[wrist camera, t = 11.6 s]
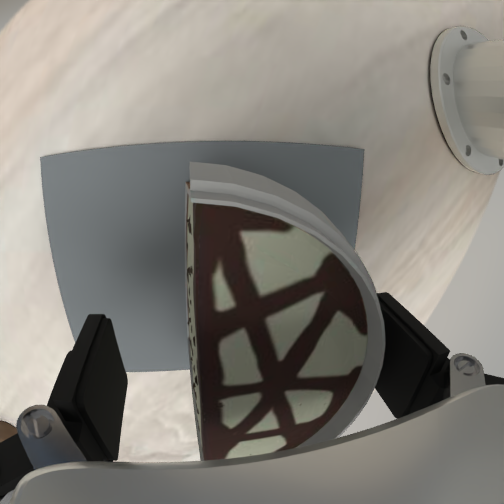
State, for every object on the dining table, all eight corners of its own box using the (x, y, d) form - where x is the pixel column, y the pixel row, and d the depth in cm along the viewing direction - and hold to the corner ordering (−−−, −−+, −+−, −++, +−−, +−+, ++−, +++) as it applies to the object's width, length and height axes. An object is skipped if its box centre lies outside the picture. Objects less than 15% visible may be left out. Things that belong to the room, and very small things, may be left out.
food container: (280, 349, 20) (342, 471, 11) (188, 356, 18) (206, 497, 9) (303, 158, 16) (445, 192, 6) (186, 152, 14) (191, 168, 5)
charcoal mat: (360, 148, 17) (364, 149, 16) (334, 346, 21) (336, 349, 21) (43, 156, 13) (40, 157, 12) (86, 368, 18) (85, 371, 17)
